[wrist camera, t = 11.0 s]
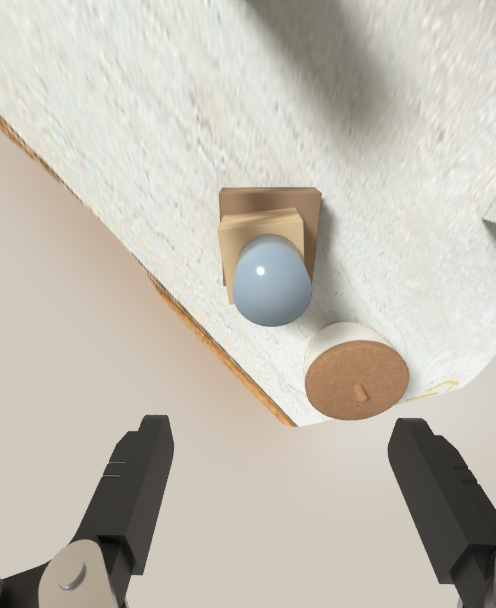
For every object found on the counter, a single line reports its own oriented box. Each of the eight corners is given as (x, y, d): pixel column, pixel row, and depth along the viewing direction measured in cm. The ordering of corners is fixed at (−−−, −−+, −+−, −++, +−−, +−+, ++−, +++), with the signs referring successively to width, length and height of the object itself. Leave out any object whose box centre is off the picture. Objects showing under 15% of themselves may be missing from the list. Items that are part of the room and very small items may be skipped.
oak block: (295, 207, 26) (303, 221, 22) (297, 274, 30) (305, 297, 25) (223, 215, 27) (217, 230, 23) (233, 280, 30) (229, 304, 26)
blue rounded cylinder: (305, 234, 23) (317, 257, 18) (298, 295, 25) (306, 328, 21) (237, 232, 23) (232, 254, 18) (236, 293, 25) (232, 325, 21)
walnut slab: (313, 186, 29) (321, 193, 26) (305, 270, 34) (311, 286, 30) (222, 187, 30) (218, 193, 26) (226, 270, 34) (223, 285, 30)
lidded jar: (293, 373, 41) (303, 432, 33) (300, 305, 35) (314, 355, 27) (372, 374, 41) (401, 434, 32) (390, 306, 35) (432, 357, 27)
